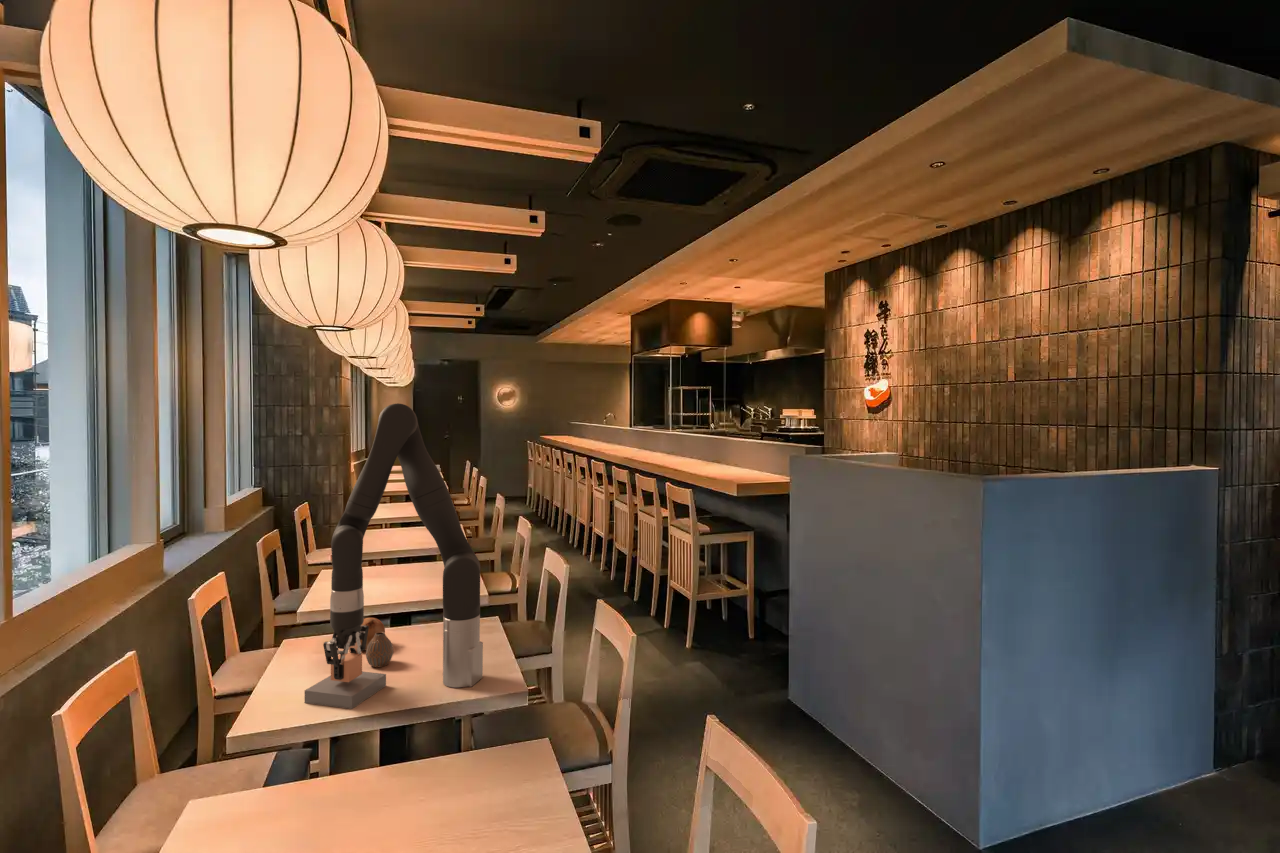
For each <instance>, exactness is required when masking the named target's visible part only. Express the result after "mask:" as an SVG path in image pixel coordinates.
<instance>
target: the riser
mask: <svg viewBox="0 0 1280 853" xmlns="http://www.w3.org/2000/svg"><path fill="white" fill-rule="evenodd" d="M386 686H387V674H386V673H381V672H380V673H379V672H371V671H363V670H362V674H361V675H360V676H358V677H356V678H355V679H353V680H351V681H350V682H342V681H334V680H331V675H329V676H327V677H326V678H324V679H322V680H319V681H318V682H317V683H315V684H313V685H311V686H310V687H308V688H306V689H304V703H305V704H310V705H311V704H312V705H319V706H327V707H334V708H342V709H349V710H353V709H354V708H355V707H357V706H359V705H360V704H362V703H363V702H364V701H366V700H368V699H369V698H370V697H371V696H373V695H375V694H376V693H378V692H379V691H380V690H382V689H384V688H385V687H386Z"/></svg>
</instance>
